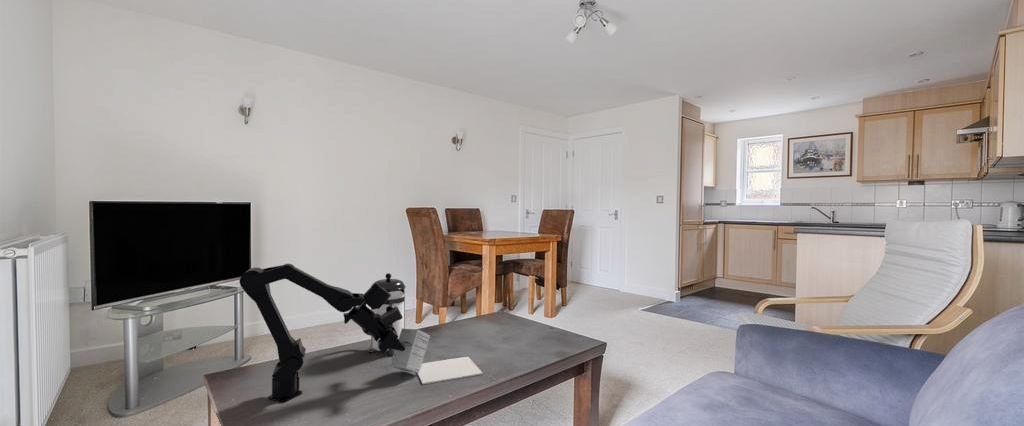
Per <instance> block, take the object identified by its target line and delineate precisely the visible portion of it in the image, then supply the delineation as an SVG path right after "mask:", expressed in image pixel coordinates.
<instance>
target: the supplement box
mask: <svg viewBox="0 0 1024 426" xmlns="http://www.w3.org/2000/svg"><path fill="white" fill-rule="evenodd" d="M430 337H431V335H429V334H428V333H426V332H424V331H421V330H419V329H415V328H406V327H405V328H402V330H401V333H400V336H399V341H400V342H401V343H402V345H403V346H404V347H405V350H404V351H399V350H394V351H393V356H392V358H391V361H390V365H389V366H390V367H391V368H394V369H397V370H400V371H404V372H409V373H410V372H411V373H416V374H417V373H419V372H420V369H421V365H422V363H424V362H423V361H424V358H425V355H426V351H427V348H428V344H429V341H430Z"/></svg>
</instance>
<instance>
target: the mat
mask: <svg viewBox="0 0 1024 426" xmlns="http://www.w3.org/2000/svg"><path fill="white" fill-rule="evenodd" d="M416 374H417V377H418V379H419V380H420V382H421V384H422V385H428V384H429V385H430V384H434V383H435V384H436V383H441V382H445V381H451V380H458V379H464V378H470V377H475V376H476V377H477V376H481V375H483V374H484V373H483V372H482V370H481V369H480V368H479V367H478V366H477V365H476V364H475V362H473V360H472V359H471V358H470V357H469V356H462V357H457V358H450V359H449V358H448V359H442V360H436V361H429V362H422V365H421V369H420V372H419V373H416Z"/></svg>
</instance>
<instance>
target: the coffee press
mask: <svg viewBox="0 0 1024 426" xmlns="http://www.w3.org/2000/svg"><path fill="white" fill-rule="evenodd" d="M375 282H376V283H377V284H378V285H379V286H381V287H383V288H384V289H385V290H386V291H387V292H389V293H390V294H391V297H390V298H389V299H388V300H387V301H386V302H385V303H384V304H383V305H382V306H381V307H380V308H379V309H374V310H373V309H372V308H370V310H372V311H373V312H374V313H375V314H376V313H377V314H379V315H383V314H384V313H386V307H388V306H389V305H390V306H392V307H393V308H394V307H397V308H398V309H399V311H400V313H401V315H402V317H403V318H402V319H400V320H397V321H396V322H394V323H392V324H391V325H390V326H391V327H390V328H389V329H392V328H393V327H394V328H395V330H396V332H397V335H398V339H399V336H400V333H401V330H402V328H405V329H406V324H405V323H406V317H405V316H406V313H405V312H406V296H407V295H406V294H407V292H406V285H405V283H404V282H403V281H402V280H400V279H397V278H392V274H391V273H388V272H387V273H386V274H385V278H384V279H383V278H382V279H379V280H376V281H375ZM365 306H367V304H365ZM361 330H362V331H363V333H364V334H365V335H367V336H370V346H369V347H368V349H367V352H368V354H372V353H373V352H374V351H378V352H381V351H380V350H379V348H378V341H379V340H380V338H379V339H378V341H375V340H374V337H372V336H371V335H370V334H369V333H365V332H364V329H362V328H361ZM371 348H373V349H372V350H371ZM370 350H371V351H370ZM394 351H395V349H390V348H388V349H387V351H386V352H388V357H393V355H394ZM369 352H371V353H369Z"/></svg>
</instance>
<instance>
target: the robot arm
mask: <svg viewBox="0 0 1024 426" xmlns="http://www.w3.org/2000/svg"><path fill="white" fill-rule="evenodd" d="M282 280H287V281H289V282H291V283H293V284H295V285H297V286H299V287H301V288H303V289H305V290H307V291H308V292H311V293H312V294H314V295H317V296H319V297H320V298H322V299H323V300H324V301H325V302H326V303H328V305H330V306H331V307H333V308H334V309H335V310H337V311H338V312H339V313H343V318H344V319H343V323H344V324H345V325H346V324H348V323H349V322H350V321H353V323H355V324H357V325H358V326H359V327H360V328H361V330H362V329H364V332H365V333H369V334H370V335H371V336H372V337H374V340H375V341H378V339H379V338H380V340H379V341H378V348H379V350H380V351H379V350H378V351H379V352H382V353H384V354H385V352H388V351H387V349H388V348H390V349H395V350H399V351H404V350H405V347H404V346H403V345H402V343H401V342H400V341H399V339H398V335H397V332H396V330H395V328H394V327H393V328H392V329H389V328H390V327H391V326H390V325H391V324H392V323H394V322H396V321H397V320H400V319H402V318H403V317H402V315H401V313H400V311H399V309H398V308H397V307H394V308H393V307H392V306H390V305H389V306H388V307H386V313H384V314H383V315H379V314H377V313H376V314H375V313H374V312H373V311H372V310H371V308H372V309H373V310H374V309H379V308H380V307H381V306H382V305H383V304H384V303H385V302H386V301H387V300H388V299H389V298H390V297H391V294H390V293H389V292H387V291H386V290H385V289H384V288H383V287H381V286H379V285H378V284H377V283H376V281H373V283H372V284H371V286H370V287H369V288H368V289H367V290H366V291H365V293H358V292H356V293H355V292H351V290H348V289H345V288H342V287H339V286H334V285H330V284H329V283H326V282H324V281H322V280H320V279H318V278H317V277H314V276H312V275H311V274H309V273H307V272H305V271H304V270H301V269H299V268H298V267H296V266H295V265H294V264H293V263H292V264H291V263H284V264H282V265H276V266H271V267H265V268H260V267H251V268H250V269H248V270H247V271H245V272H244V273H243V274H242V275H241V276H240V279H239V285H240V287H241V288H242V289H243V291H244V292H245V294H246V295H247V296H248V297H249V298H250V299H251V300H252V301H254V303H255V304H256V306H257V308H258V311H259V312H260V315H261V316H262V318H263V320H264V323H265V325H266V327H267V329H268V331H269V332H270V334H271V336H272V338H273V341H274V343H275V344H276V348H277V354H278V360H279V361H278V362H276V364H275V367H274V370H273V373H272V375H271V395H269V396H268V397H267V399H268V398H270V399H269V400H272V399H275V400H274V401H276V400H278V401H277V402H280V401H281V403H285V402H287V401H289V399H290V400H292V399H293V398H295V397H297V396H299V395H301V394H303V390H300V375H299V371H300V369H301V368H303V365H304V360H305V356H306V351H307V350H306V347H305V346H304V345H303V343H302V338H301V337H300V338H298V339H295V338H293V336H292V335H291V334H290V332H289V331H290V330H289V329H288V327H287V325H286V323H285V320H284V318H283V317H282V315H281V312H280V310H279V309H278V307H277V304H276V302H275V300H274V298H273V297H272V293H271V287H270V286H271V285H270V284H271V283H276V282H278V281H282ZM365 304H366V306H365ZM364 332H363V333H364ZM365 333H364V334H365ZM370 335H369V336H370ZM371 336H370V337H371ZM395 350H394V351H395Z"/></svg>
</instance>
